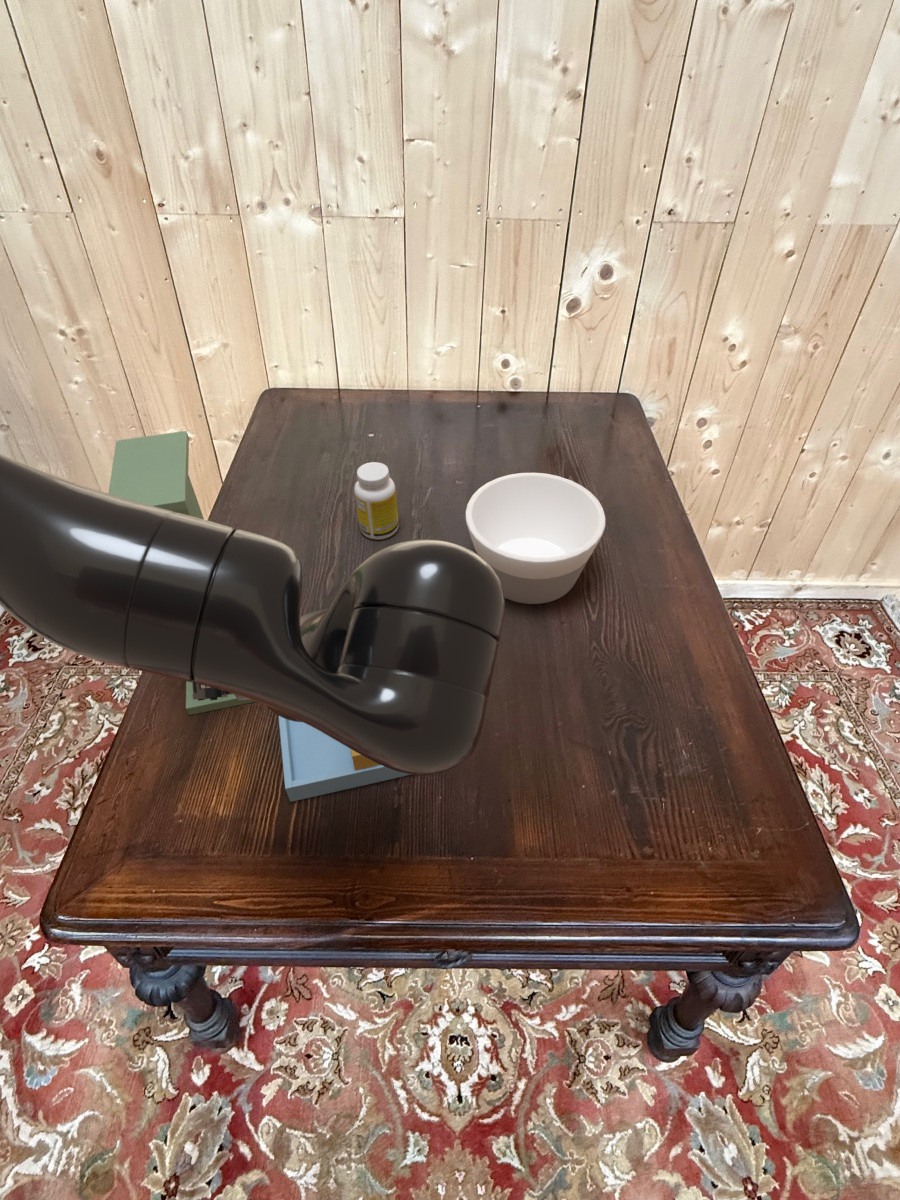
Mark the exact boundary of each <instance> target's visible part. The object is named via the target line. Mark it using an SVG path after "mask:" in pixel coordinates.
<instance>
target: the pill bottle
mask: <svg viewBox="0 0 900 1200" xmlns="http://www.w3.org/2000/svg"><path fill="white" fill-rule="evenodd" d="M389 470H390V469H389V468H388V466H387V465H386V464H385V463H382V462H379V461H378V462H376V461H371V462H366V463H363V464H362V465H360V466H359V467H358V468H357V470H356V478H357V481H356V482H355V484H354V488H353V489H354V491H353V492H354V497H355V504H356V505H355V506H356V511H357V517H358V525H359V530H360V532H361V533H362V535H363V536H365V537H366V538H368V539H371V540H376V541H379V540H385V539H389V538H390V537H392V536H393V535H395V534H396V533H397V531H398V529H399V525H400V524H399V523H400V521H399V512H398V511H399V510H398V502H397V491H396V484H395V482H394V480H393V479H392V478H391V477H390V471H389Z"/></svg>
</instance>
